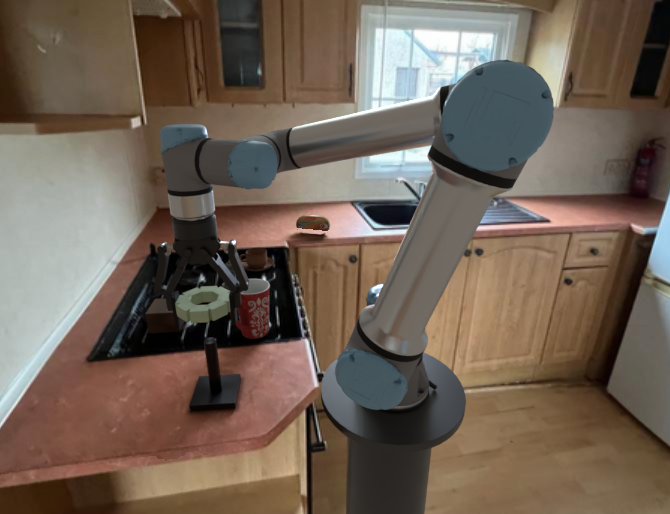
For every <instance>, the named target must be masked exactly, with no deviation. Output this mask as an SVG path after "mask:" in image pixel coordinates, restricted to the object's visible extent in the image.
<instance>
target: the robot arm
mask: <svg viewBox="0 0 670 514" xmlns="http://www.w3.org/2000/svg"><path fill="white" fill-rule="evenodd" d="M554 110H555V104H554V98H553V94H552V91H551V88H550V86H549V84H548V82H547V81H546V80H545V78H544V77H543V75H541V74H540V73H539V72H538V71H537V70H536V69H535V68H534V67H532V66H528V65H526V63H525V64H524V63H523V62H521V61H514V60H510V59H496V60H490V61H487V62H483V63H481V64H479V65H476V66H475V67H473V68H472V69H470V70H468V71H467V72H466V73H464V75H463V76H462V77H460V79H458V80H457V81H456V82H454V83H451V84H448V85H443V86H441V87H440V86H439V87H438V88H437V90H436V91H435V93H434V94H433V95H430V96H425V97H421V98H416V99H412V100H408V101H404V102H399V103H394V104H390V105H386V106H381V107H377V108H372V109H367V110H363V111H359V112H355V113H351V114H346V115H341V116H336V117H332V118H328V119H323V120H319V121H314V122H311V123H306V124H301V125H297V126H294V127H293V126H292V127H289V128H285V129H276V130H273V131H269V132H266V133H262V134H256V135H251V136H246V137H241V138H236V139H227V138H225V139H223V138H210V137H209V135H208V131H207V127H206V126H205V125H203V124H197V123H179V124H178V123H177V124H168V125H165V126H163V127H162V128H161V129H160V130H159V139H160V141H159V142H160V155H161V159H162V164H163V170H164V177H165V182H166V190H167V198H168V206H169V213H170V216H172V218H171V225H172V233H173V238H174V239H173V242H167V241H161V243H160V244H159V245H158V246H157V247H156V252H157V256H158V261H157V266H156V267H157V268H156V273H155V279H154V280H155V281H154V285H153V294H154V295H157V296H159V295H162V296H164V299H166V304H167V309H168V311H173V316H174V322H175V328H179V327H180V325H181V323H182V321H183V320H182V319H181V318H179V317H178V316H177V312H176V306H175V303H176V301H177V299H178V297H179V295H180V292H179V290H175V289H176V287H177V285H178V283H179V281H180V279H181V277H182V275H183V273H184V271H185V269H186V267H187V265H188V264H189V266H194V265H198V264H199V265H209V266H210V268H211V269H213V270H214V271H215V272H216V274H217V275H218V276H219V277H220V279H221V281H223V283H224V282H225V284H226V285H227V286H228V287H229V289H230V294H229V301H230V312H231V316H230V321H231V326H236V322H237V319H238V318H239V316H238V309H237V308H240V306H241V292H242V291H247V290H248V287H249V280H248V279H249V278H248V275H247V272H246V270H245V269H244V268H243V265H242V263H241V260H240V258H239V256H240V255H239V253H238V250H237V241H236V239H230V240H229V241H224V240H221V239H220V237H219V233H218V225H217V224H218V223H217V215H216V214H215V211H216V206H215V195H214V188H213V187H214V186H221V187H229V188H239V189H242V190H243V189H245V190H252V189H253V190H254V189H256V190H263V189H267V188H269V187H270V186H271V185H272V183H273V181H274V180H275V179H276V176H277V175H278V174H281V173H283V172H289V171H295V170H300V169H303V168H308V167H309V168H310V167H315V166H320V165H327V164H334V163H338V162H344V161H350V160H356V159H361V158H368V157H373V156H378V155H379V156H380V155H384V154H385V155H386V154H390V153H397V152H402V151H407V150H408V151H409V150H414V149H421V148H425V147H430V148H429V150H428V153H427V155H426V156H427V159H428V161H429V164H430V167H431V170H432V172H431V174H430V176H429V178H428V182H427V183H426V186H425V188H424V190H423V193H422V195H421V197H420V200H419V202H418V204H417V206H416V209H415V211H414V213H413V215H412V218H411V219H410V222H409V225H408V227H407V229H406V231H405V234H404V236H403V239H402V241H401V243H400V245H399V248H398V250H397V252H396V255H395V256H394V259H393V261H392V264H391V266H390V268H389V270H388V273H387V275H386V277H385V280H384V282H383V283H380V284H376V285H373V286H372V287H370V288H369V290H368V291H367V295H366V298H365V302H366V306H365V307H364V308H363V309H362V310H361V311H360V313H359V315H358V318H357V320H356V323H355V325H354V327H353V329H352V332H351V334H350V337H349V339H348V341H347V344H346V345H345V347H344V349H343V351H342V352H341V353H340V354H339V355H338V357H337V358H338V362H337V364H336V367H335V376H336V380H337V383H338V385H339V386H341V388H342V391H343V392H344V393H345V394H346V395H347V396H348V397H349V398H350V399H351V400H353V401H354V402H356V403H357V404H359V405H361V406H363V407H366V408H369V409H373V410H379V411H382V412H386V413H396V414H398V413H407V412H411V411H414V410H416V409H418V408H419V407H421V406H422V405H423V404H424V403H425V402H426V400H427V398H428V394H429V386H430V387H431V388H433V389H434V390H435V389H436V388H437V385H435V384H434V383H432V382H431V381H430V380H428V377H427V373H426V370H425V366H424V363H423V352H424V353H425V350H426V349H427V346H428V344H429V338H428V337H429V336H428V334H427V331H426V327H427V325H428V323H429V322H430V319H431V318H432V316H433V314H434V312H435V310H436V308H437V306H438V305H439V302H440V301H441V298H442V297H443V295H444V293H445V291H446V289H447V287H448V285H449V283H450V281H451V279H452V278H453V275H454V274H455V272H456V270H457V268H458V266H459V265H460V263H461V260H462V258H463V256H464V255H465V253H466V251H467V249H468V247H469V245H470V243H471V241H472V239H473V237H474V236H475V234H476V231H477V230H478V228H479V227H480V224H481V222H482V220H483V218H484V216H485V214H486V213H487V211H488V208H489V207H490V206H491V204H492V201H493V199H494V197H497V196H499V195H502V194H504V193H507V192H510V191H512V189H513V188H514V186H515V183H516V182H517V180H518V179H519V177H520V175H521V174H522V171H523V169H524V167H525V166H526V164H527V162H528V161H529V159H530V158H531V157H533V155H535V153H537V152H538V150H539V148H541V147H542V146H543V144H544V143H545V141H546V140H547V138H548V136H549V134H550V131H551V128H552V126H553V121H554ZM220 249H222V250H223V251H224V253H225V254H227V256H228V260H230V262H231V265H232V267H233V269H234V272H235V274H236V279H237V280H238V281H239V283H238V281H237V280H236V279H235V277H234V276H233V275H232V273H231V272H230V271H229V270H228V268H227V267H226V266H225V264H226V263H224V261H222V257H221V256H220V255H219V253H218V252H219V251H220ZM173 251H174V252H175V253H176V254H177V255H178V256H179V257H180V260H179V262H178V264H177V267H176V269H175V270H174V273H173V275H172V277H171V279H170V280H169V283H168V284H167V285H165V284H166V278H167V272H168V266H169V261H170V256H171V254H172V252H173ZM230 312H229V313H230Z"/></svg>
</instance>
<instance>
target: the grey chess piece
mask: <svg viewBox="0 0 670 514" xmlns="http://www.w3.org/2000/svg"><path fill="white" fill-rule="evenodd" d="M224 264H225V266H226V267H227V268H228V270H229V271H230V272H231V273H232V275H233V276H234V277H235V279H236V280H237V281H238V279H237V276H236V274H235V272H234V269H233V267H232V265H231V262H230V260H229V259H228V261H227V262H225V263H224ZM238 283H239V281H238ZM221 287H223V288H225V289H227V290H229V291H230V289H229V287H228V286H227V285H226V284H225V282H224V281H223V283H222V284H221Z"/></svg>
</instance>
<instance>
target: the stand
mask: <svg viewBox="0 0 670 514" xmlns="http://www.w3.org/2000/svg"><path fill="white" fill-rule="evenodd" d="M203 347H204V354H205V361H206V369H207V375H198V378H197V381H196V383H195V387H194V390H193V393H192V396H191V399H190V402H189V405H188V409H189V412H190V413H191V412H193V413H194V412H206V411H222V410H235V409H237V403H238V397H239V393H240V392H239V391H240V387H241V381H242V376H241V373H230V374H221V369H220V368H221V367H220V362H219V361H220V359H219V350H218V343H217V338H216V337H213V336H211V337H210V336H209V337H207V338H205V339H204V340H203Z"/></svg>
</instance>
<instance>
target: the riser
mask: <svg viewBox="0 0 670 514" xmlns="http://www.w3.org/2000/svg"><path fill="white" fill-rule="evenodd" d="M144 315H145V320H146V326H147V330H148V334H165V333H180V332H181V330H182V329H183V326H184V324H185V322H186V321H184V320H183V321H182V323H181V325H180V327H179V328H175V322H174V316H173V311H168V309H167V304H166V298H154V300H153V301H152V303H151V304H150V306H149V307H148V309H147V311H146V312H145V314H144Z"/></svg>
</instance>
